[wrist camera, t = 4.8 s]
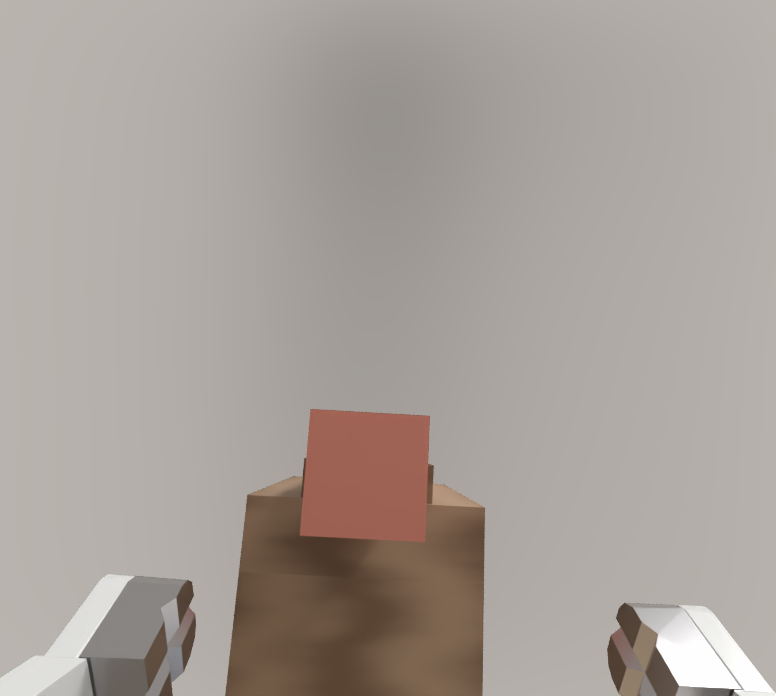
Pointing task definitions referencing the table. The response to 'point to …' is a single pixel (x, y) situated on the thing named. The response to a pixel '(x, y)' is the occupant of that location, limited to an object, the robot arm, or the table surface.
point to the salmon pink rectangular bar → (366, 476)
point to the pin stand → (358, 604)
